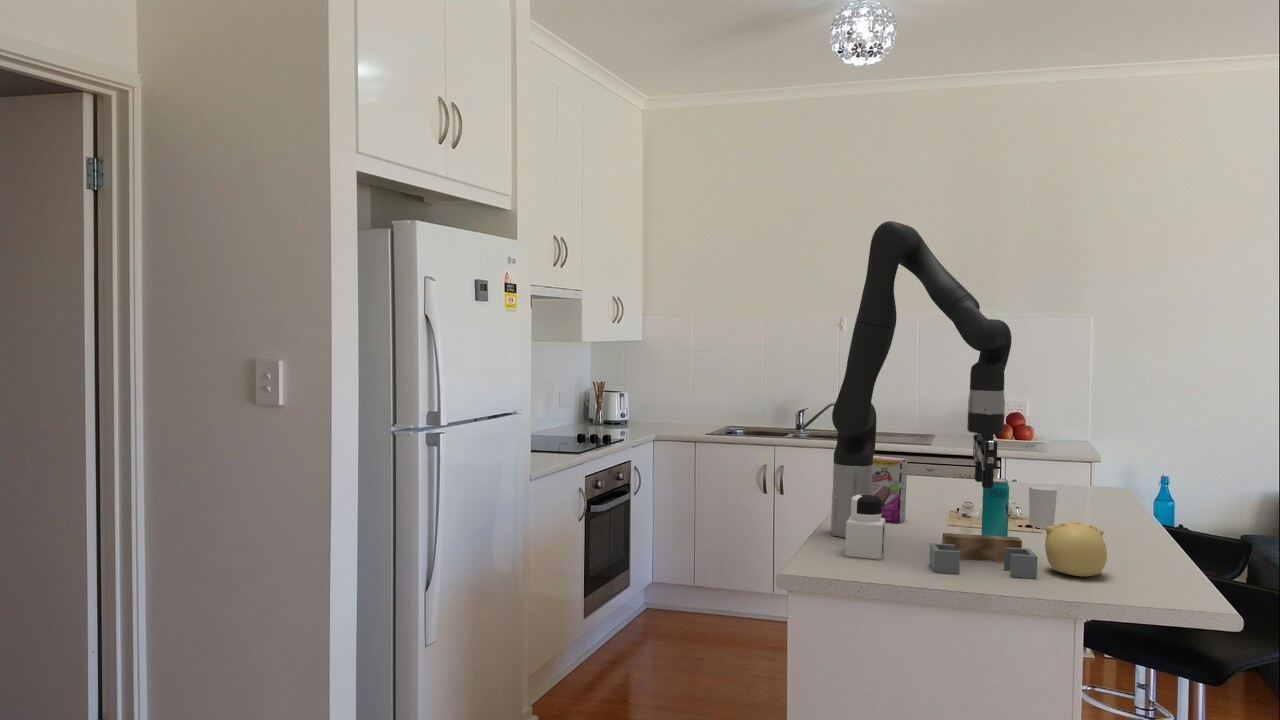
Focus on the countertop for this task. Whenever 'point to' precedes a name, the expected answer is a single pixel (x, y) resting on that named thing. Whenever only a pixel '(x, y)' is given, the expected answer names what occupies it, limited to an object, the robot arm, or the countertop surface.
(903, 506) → the candy bar box
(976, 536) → the brown wooden bar
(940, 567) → the endcap
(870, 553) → the container
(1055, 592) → the countertop surface
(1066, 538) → the sculpture
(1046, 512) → the drinking glass
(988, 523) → the beverage can
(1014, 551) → the endcap
